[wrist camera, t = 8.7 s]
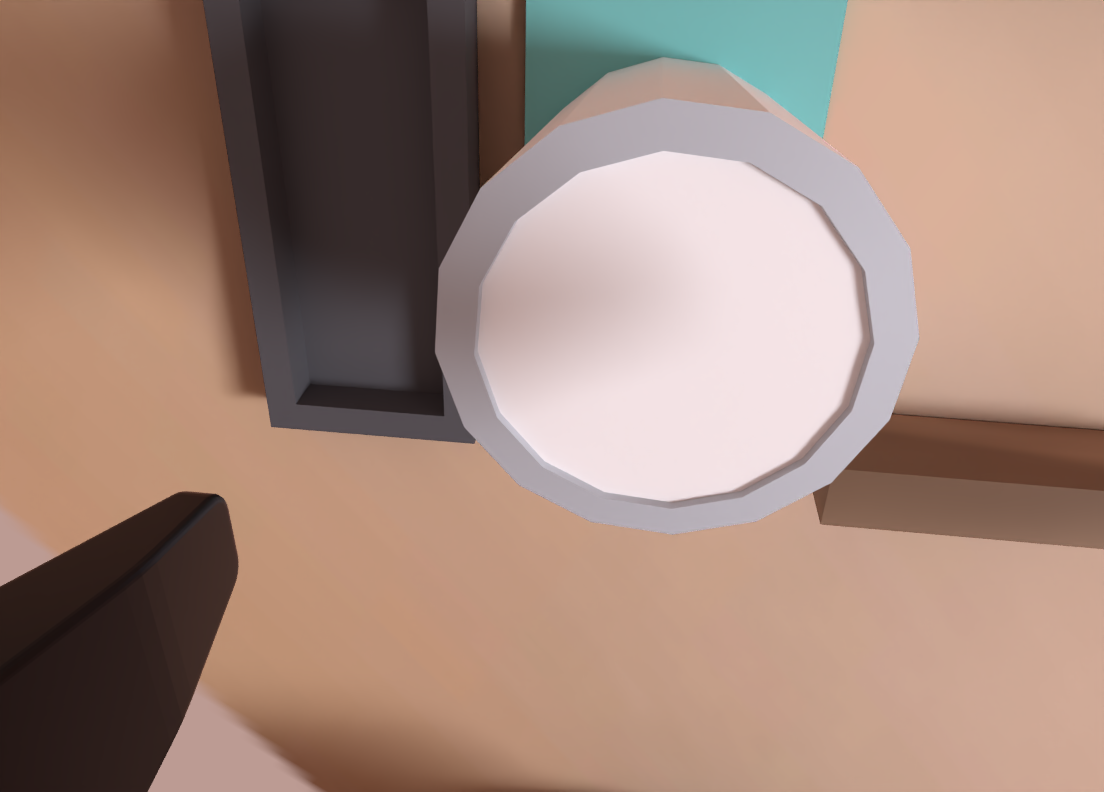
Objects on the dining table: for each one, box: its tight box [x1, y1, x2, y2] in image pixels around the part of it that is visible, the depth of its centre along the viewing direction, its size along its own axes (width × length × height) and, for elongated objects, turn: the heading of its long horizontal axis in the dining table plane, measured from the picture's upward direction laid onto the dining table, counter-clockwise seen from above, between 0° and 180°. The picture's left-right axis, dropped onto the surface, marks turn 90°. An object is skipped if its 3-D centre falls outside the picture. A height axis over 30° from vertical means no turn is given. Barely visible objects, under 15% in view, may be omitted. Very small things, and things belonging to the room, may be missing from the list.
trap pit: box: [203, 0, 480, 444], centre depth 19 cm, size 12×5×1 cm, turn 179°
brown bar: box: [813, 414, 1104, 549], centre depth 17 cm, size 13×8×2 cm, turn 179°
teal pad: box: [525, 0, 848, 145], centre depth 19 cm, size 12×6×1 cm, turn 179°
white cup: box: [435, 57, 919, 535], centre depth 15 cm, size 7×7×7 cm
